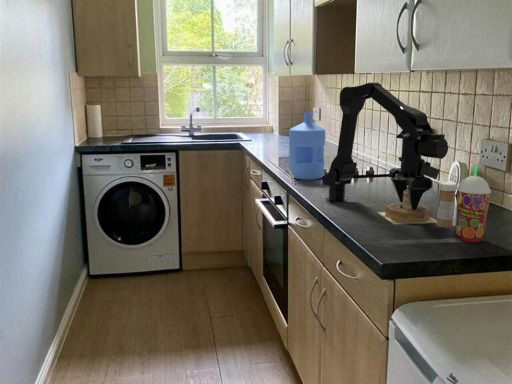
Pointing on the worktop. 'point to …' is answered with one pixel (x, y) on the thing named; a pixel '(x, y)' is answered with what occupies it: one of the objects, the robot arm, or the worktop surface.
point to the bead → (407, 213)
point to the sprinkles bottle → (446, 204)
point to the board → (405, 222)
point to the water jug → (306, 150)
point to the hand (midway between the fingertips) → (407, 205)
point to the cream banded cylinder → (406, 201)
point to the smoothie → (472, 208)
